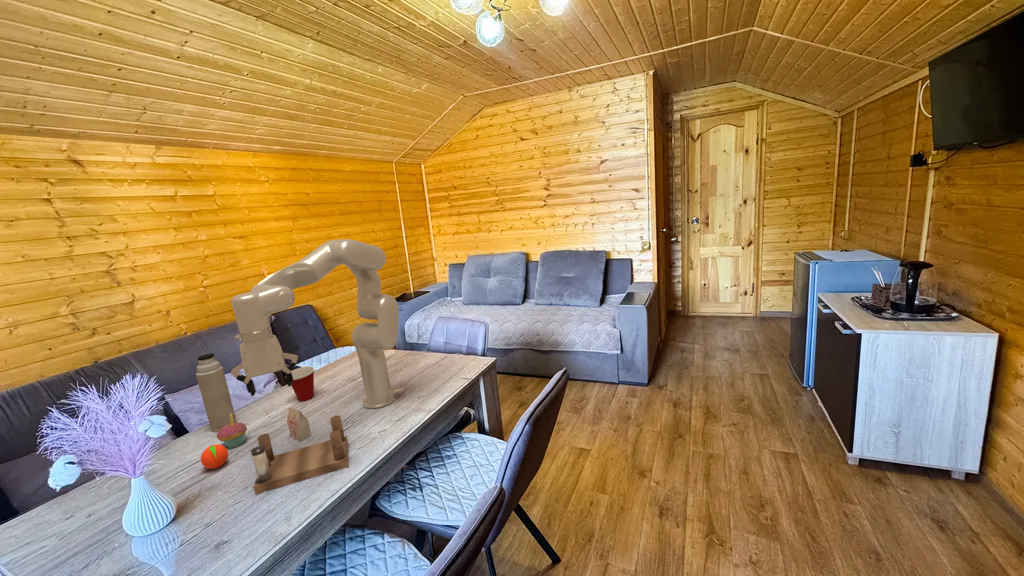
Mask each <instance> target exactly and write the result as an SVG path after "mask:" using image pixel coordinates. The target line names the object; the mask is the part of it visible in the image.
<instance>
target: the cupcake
mask: <svg viewBox="0 0 1024 576" xmlns="http://www.w3.org/2000/svg"><path fill="white" fill-rule="evenodd" d="M230 419H231V423H230V424H228V425H225V426H224V427H223V428H221V429H220V430H219V432H216V438H217V440H218V441H220V442H223V443H224V444H225V445H226V447H227V448H230V449H231V447H232V448H235V447H239V446H240V445H242V444H243V443H244V441H245V436H246V435H245V434H246V432H247V431H248V427H247V425H246V424H245V423H244V422H238V421H237V423H233V416H232V414H230Z"/></svg>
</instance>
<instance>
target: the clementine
mask: <svg viewBox="0 0 1024 576" xmlns="http://www.w3.org/2000/svg"><path fill="white" fill-rule="evenodd" d="M228 457H229V451H228V449H227V448H226V446H224V445H222V444H212V445H210V446H209V445H208V446H207V447H206V448H205V449H204V450H203V451H202V453H201V456H200V463H201V465H202V466H203V467H204V468H207V469H213V470H214V469H217V468H220V467H221V466H223V465H224V464H225V463H226V461H227V459H228Z"/></svg>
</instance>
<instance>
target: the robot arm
mask: <svg viewBox="0 0 1024 576" xmlns="http://www.w3.org/2000/svg"><path fill="white" fill-rule="evenodd" d="M386 262H387V257H386V253H385V251H384V250H383V249H382V248H381V247H379V246H376V245H372V244H369V243H366V242H362V241H358V240H354V239H349V238H346V239H345V238H343V239H330V240H328V241H325V242H324V243H322V244H321V245H320V246H318V247H316V249H314V250H313V251H311V252H309V254H307V255H306V256H304V257H303V258H302V259H300V260H298V261H297V262H294V263H292V264H290V265H288V266H286V267H283V268H282V269H280V270H277V271H275V272H273V273H271V274H269V275H268V276H267V277H265V278H264V279H262V280H261V281H260V282H258V283H256V284H255V285H254V286H252V288H251V289H250V290H249V292H243V293H240V294H237V295H234V296H232V299H231V307H232V310H233V313H234V317H235V319H236V323H237V324H236V325H237V327H238V330H239V333H238V334H237V335H235V336H234V338H235V341H241V343H240V344H239V352H240V353H239V354H240V359H241V363H240V364H238V365H237V366H236V367H234V368H232V369H231V371H230V375H232V376H233V377H234V378H235V379H236V380H238V381H239V382H241V383H243V384H244V385H245V386H246V390H247V393H248V394H250V396H251V397H254V396H255V395H256V392H257V390H256V386H255V383H254V380H253V379H252V378H255V377H259V376H263V375H264V376H265V375H268V374H272V373H276V372H280V371H283V372H284V373H285V375H284V376H286V377H285V380H286V384H287V386H288V387H292V386H291V384H292V382H293V376H292V373H291V371H293V370H294V369H295V367H296V366H297V365H296V364H297V361H298V358H299V356H298V355H297V354H292V353H287V352H284V351H283V349H282V345H280V341H279V339H278V338H277V336H276V335H275V334H273V332H272V327H271V324H270V319H269V316H268V315H269V314H272V313H278V312H284V311H286V310H288V309H290V308H291V307H292V306H293V304H294V303H295V299H296V295H295V293H294V291H293V290H295V289H298V288H299V289H300V288H303V287H306V286H310V285H313V284H315V283H318V282H320V281H321V280H322V279H323V278H324V277H325V276H327V275H328V274H330V273H331V272H332V271H333V270H334V269H336V268H337V267H338V266H341V265H345V267H346V268H347V269H349V270H350V271H351V272H352V274H353V276H354V277H355V280H356V287H357V292H356V293H357V294H356V312H357V315H358V317H360V318H362V319H365V320H375V321H377V323H376V322H362V323H359V324H358V325H356V326H355V327H354V329H353V330H352V332H351V333H352V334H351V338H352V339H351V340H352V343H353V346H354V348H355V351H356V353H357V356H358V362H359V368H360V372H361V378H362V384H363V388H364V393H365V394H364V395H365V398H364V399H363V400H362V405H363V407H364V408H366V409H378V408H383V407H386V406H389V405H391V404H392V403H394V402H395V401H396V399H397V394H400V393H404V391H405V390H404V387H403V386H402V387H400V385H398V386H392V385H391V381H390V376H389V369H388V364H387V358H386V354H385V351H388V350H389V351H390V350H391V349H392V348H394V347H395V346H396V345H397V341H398V337H399V304H398V301H397V300H396V298H395V297H394V296H392V295H391V294H390V295H389V294H385V293H384V294H383V293H382V281H381V277H380V275H379V272H378V271H379V270H381V269H382V268H383V267H384V266H385V264H386ZM286 359H287V360H290V361H291V363H290V364H289V365H288V364H287V363H286ZM241 370H243V372H244V374H242V373H240V371H241Z"/></svg>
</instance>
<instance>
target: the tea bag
mask: <svg viewBox="0 0 1024 576" xmlns="http://www.w3.org/2000/svg"><path fill="white" fill-rule="evenodd" d="M309 422H310V421H309V419H308V418H307V417H306V416H305V415H304V414H303V412H302V411H301V410H298V409H296V408H293V407H289V408H288V415H287V420H286V423H287V426H288V431H289V435H290V437H291V438H293V437H294V438H293V439H295V438H296V439H295V440H297V441H300V442H303V441H304V440H306V439H309V438H310V437H312V431H311V427H310V423H309Z"/></svg>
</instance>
